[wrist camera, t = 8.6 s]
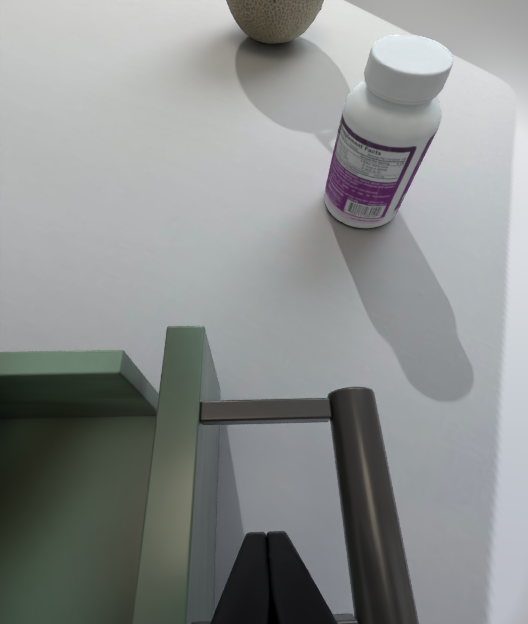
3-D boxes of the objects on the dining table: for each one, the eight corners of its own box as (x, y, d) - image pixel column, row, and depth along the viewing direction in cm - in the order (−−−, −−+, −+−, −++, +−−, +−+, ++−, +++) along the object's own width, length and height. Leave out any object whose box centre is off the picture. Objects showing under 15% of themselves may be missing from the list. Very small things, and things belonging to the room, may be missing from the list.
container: (324, 386, 17) (366, 318, 11) (360, 675, 12) (475, 852, 6) (-43, 394, 16) (-220, 325, 10) (-173, 707, 11) (-690, 952, 5)
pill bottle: (357, 170, 27) (406, 17, 18) (410, 209, 25) (492, 58, 16) (306, 199, 25) (335, 44, 17) (360, 243, 23) (422, 94, 15)
